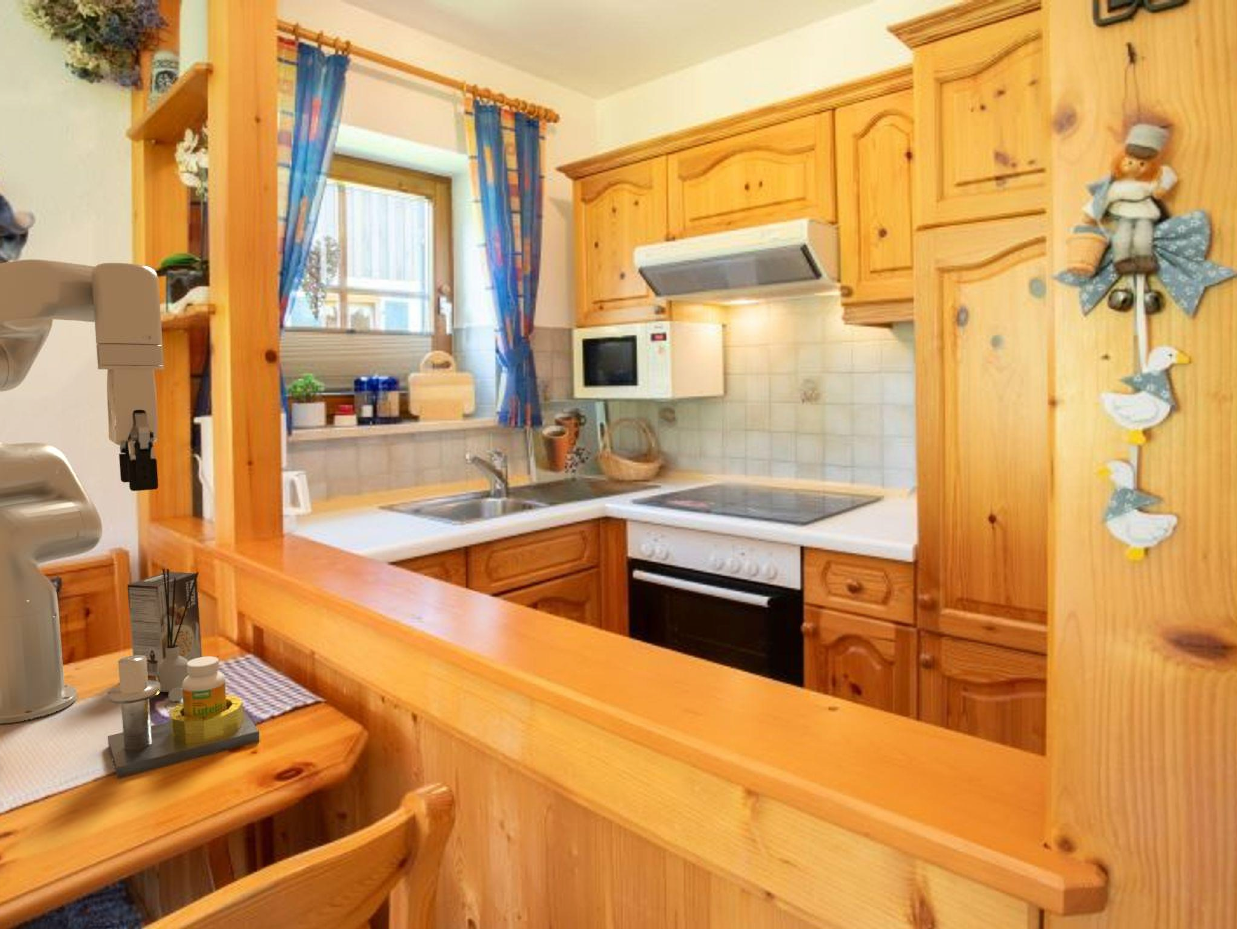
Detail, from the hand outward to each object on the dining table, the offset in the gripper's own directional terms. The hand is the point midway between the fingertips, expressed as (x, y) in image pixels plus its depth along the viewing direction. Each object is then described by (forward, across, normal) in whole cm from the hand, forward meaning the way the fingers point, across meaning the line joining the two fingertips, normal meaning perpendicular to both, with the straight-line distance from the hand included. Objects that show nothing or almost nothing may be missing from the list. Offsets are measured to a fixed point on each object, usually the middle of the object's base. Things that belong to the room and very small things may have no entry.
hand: (139, 485), depth 107 cm
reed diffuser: (+36, -17, +6) cm, 41 cm away
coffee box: (+36, -30, +6) cm, 48 cm away
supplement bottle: (+35, +4, +6) cm, 36 cm away
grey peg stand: (+36, +4, +3) cm, 37 cm away
